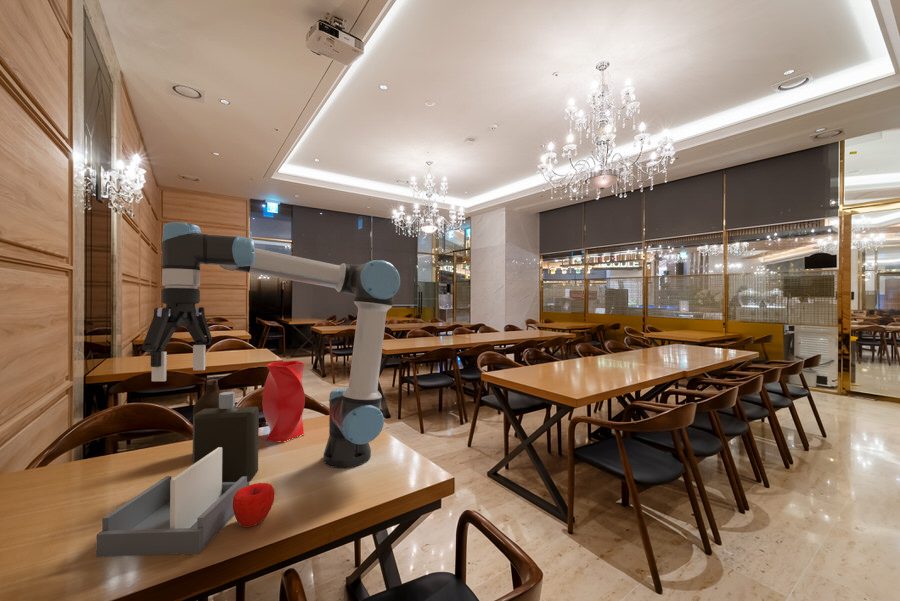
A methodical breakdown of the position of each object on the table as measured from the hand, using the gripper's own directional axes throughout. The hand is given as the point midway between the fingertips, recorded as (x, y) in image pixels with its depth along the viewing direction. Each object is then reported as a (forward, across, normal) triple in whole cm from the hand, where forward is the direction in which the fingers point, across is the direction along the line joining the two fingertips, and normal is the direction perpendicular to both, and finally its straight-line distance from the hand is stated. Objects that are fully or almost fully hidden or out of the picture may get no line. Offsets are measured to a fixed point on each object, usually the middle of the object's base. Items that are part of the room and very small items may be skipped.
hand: (180, 375), depth 89 cm
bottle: (+34, -18, +1) cm, 39 cm away
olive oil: (+34, -37, -15) cm, 52 cm away
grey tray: (+34, +4, +3) cm, 34 cm away
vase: (+34, -53, +3) cm, 63 cm away
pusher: (+33, +4, +4) cm, 33 cm away
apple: (+34, +3, +19) cm, 39 cm away
